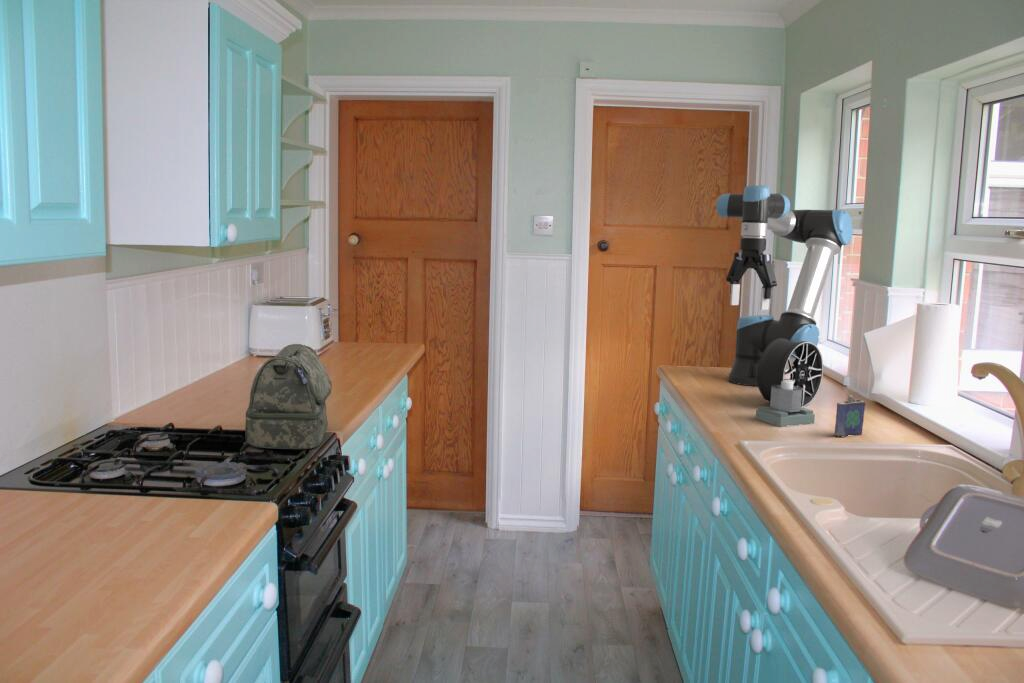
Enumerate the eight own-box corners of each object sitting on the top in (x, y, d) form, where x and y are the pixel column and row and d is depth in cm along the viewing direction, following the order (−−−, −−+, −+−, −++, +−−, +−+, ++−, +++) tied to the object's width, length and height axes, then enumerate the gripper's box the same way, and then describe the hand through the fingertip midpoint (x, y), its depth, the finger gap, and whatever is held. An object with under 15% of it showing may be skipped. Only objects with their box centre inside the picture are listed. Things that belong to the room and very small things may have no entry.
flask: (839, 438, 218) (842, 397, 217) (830, 435, 221) (833, 395, 219) (864, 435, 222) (868, 394, 221) (855, 432, 225) (859, 392, 223)
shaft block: (788, 415, 242) (791, 377, 241) (814, 423, 234) (817, 384, 232) (755, 418, 237) (758, 380, 236) (780, 426, 228) (783, 386, 227)
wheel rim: (780, 411, 247) (785, 343, 244) (754, 405, 254) (759, 339, 251) (820, 404, 259) (825, 339, 256) (794, 398, 266) (799, 335, 263)
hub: (786, 404, 240) (787, 383, 239) (806, 410, 233) (808, 389, 232) (764, 406, 237) (765, 385, 236) (784, 412, 230) (785, 391, 229)
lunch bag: (321, 453, 193) (321, 358, 190) (239, 453, 191) (237, 357, 188) (334, 425, 218) (334, 341, 215) (262, 424, 217) (261, 340, 214)
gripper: (717, 236, 265) (713, 303, 268) (772, 238, 243) (767, 312, 246) (736, 236, 269) (732, 302, 272) (792, 238, 246) (787, 311, 249)
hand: (749, 307), depth 259 cm, fingers open, 13 cm apart
